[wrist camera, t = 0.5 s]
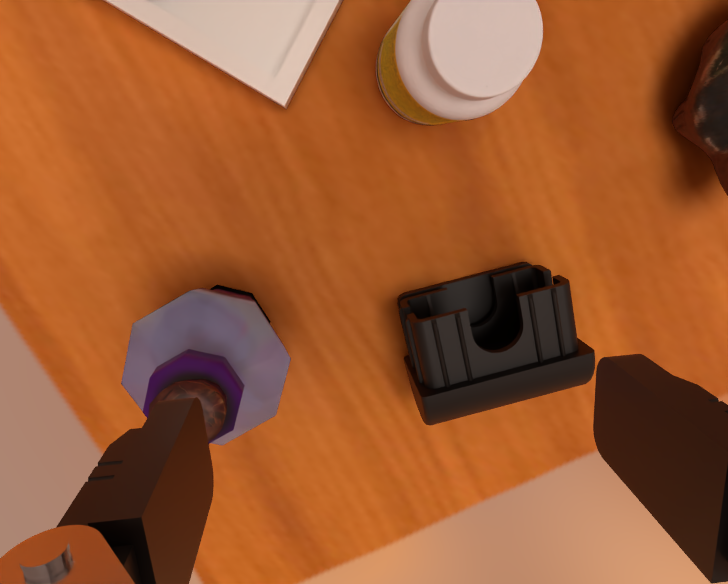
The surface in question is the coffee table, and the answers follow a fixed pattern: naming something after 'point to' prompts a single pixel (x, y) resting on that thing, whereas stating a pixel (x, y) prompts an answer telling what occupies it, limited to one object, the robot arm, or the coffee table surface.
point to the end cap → (491, 341)
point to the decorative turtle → (709, 104)
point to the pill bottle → (457, 57)
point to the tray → (243, 36)
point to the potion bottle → (209, 360)
